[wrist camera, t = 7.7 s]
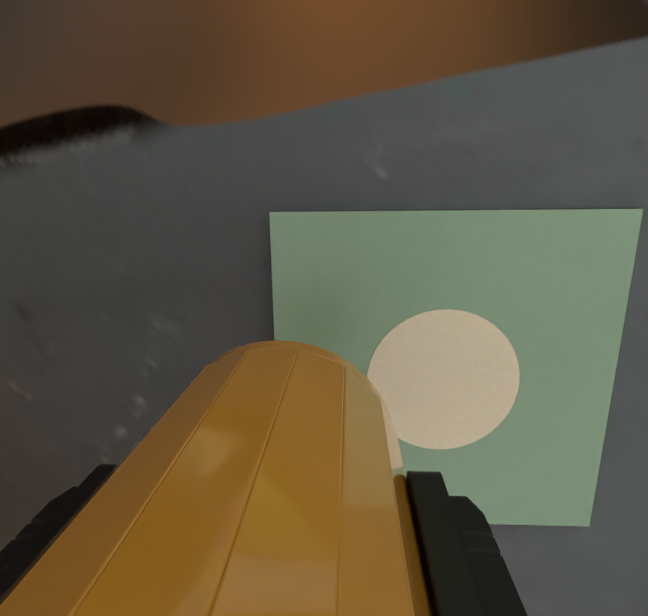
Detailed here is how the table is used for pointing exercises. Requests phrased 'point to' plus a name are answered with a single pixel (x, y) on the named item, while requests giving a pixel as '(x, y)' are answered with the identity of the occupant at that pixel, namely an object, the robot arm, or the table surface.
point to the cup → (245, 504)
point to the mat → (473, 338)
